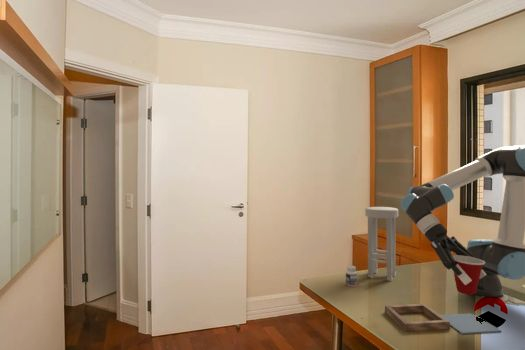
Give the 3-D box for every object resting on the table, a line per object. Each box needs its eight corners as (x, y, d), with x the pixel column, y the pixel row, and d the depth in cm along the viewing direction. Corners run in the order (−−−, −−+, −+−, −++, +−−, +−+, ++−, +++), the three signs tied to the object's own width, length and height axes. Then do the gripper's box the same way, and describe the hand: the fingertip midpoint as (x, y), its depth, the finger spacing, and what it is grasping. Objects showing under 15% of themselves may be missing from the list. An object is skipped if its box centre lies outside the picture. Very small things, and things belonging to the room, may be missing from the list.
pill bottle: (344, 283, 169) (344, 265, 169) (354, 283, 169) (354, 264, 169) (348, 287, 164) (347, 268, 163) (358, 286, 164) (358, 267, 164)
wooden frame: (424, 310, 136) (424, 303, 136) (450, 328, 120) (450, 321, 120) (384, 312, 135) (384, 305, 135) (405, 331, 119) (405, 324, 119)
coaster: (472, 314, 131) (472, 313, 131) (501, 331, 118) (501, 330, 117) (437, 316, 130) (437, 315, 130) (461, 334, 116) (461, 332, 116)
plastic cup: (490, 298, 117) (490, 263, 117) (455, 296, 119) (455, 261, 119) (477, 287, 128) (477, 254, 128) (445, 285, 130) (445, 253, 130)
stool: (370, 270, 190) (370, 206, 189) (400, 274, 182) (400, 207, 181) (362, 278, 176) (362, 209, 176) (395, 283, 168) (394, 210, 168)
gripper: (440, 231, 142) (482, 279, 130) (408, 238, 129) (451, 292, 117) (454, 219, 138) (498, 268, 125) (422, 225, 125) (468, 280, 112)
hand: (476, 279), depth 121 cm, fingers closed on plastic cup, 10 cm apart
